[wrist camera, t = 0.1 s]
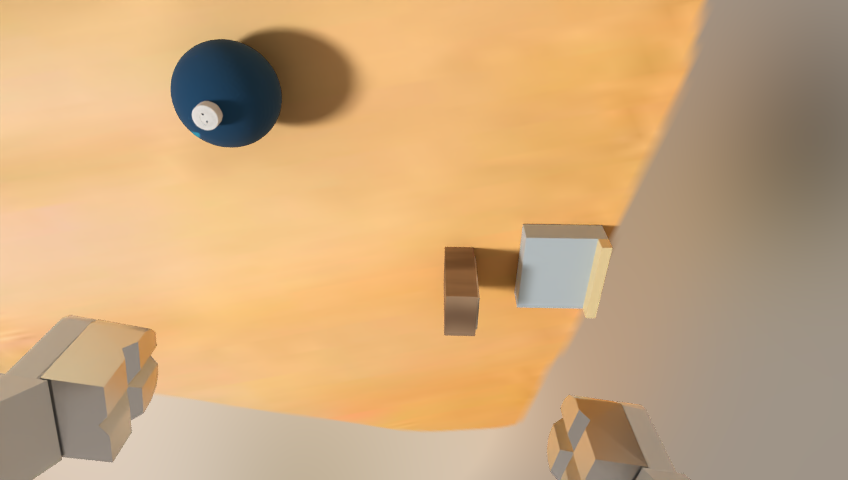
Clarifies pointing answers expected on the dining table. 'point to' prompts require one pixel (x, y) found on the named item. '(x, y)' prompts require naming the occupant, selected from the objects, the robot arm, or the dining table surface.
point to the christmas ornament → (226, 93)
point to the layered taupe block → (460, 292)
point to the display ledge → (562, 266)
